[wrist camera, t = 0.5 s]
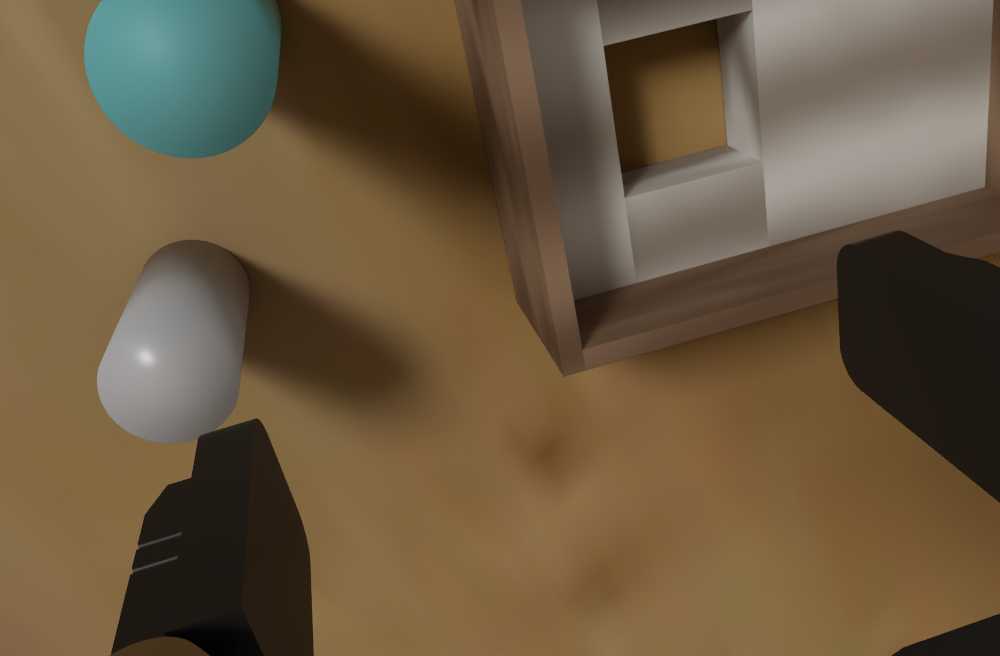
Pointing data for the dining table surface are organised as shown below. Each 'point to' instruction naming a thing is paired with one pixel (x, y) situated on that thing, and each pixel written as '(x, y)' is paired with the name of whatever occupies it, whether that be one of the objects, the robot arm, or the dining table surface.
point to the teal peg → (185, 70)
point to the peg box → (730, 159)
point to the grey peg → (178, 345)
